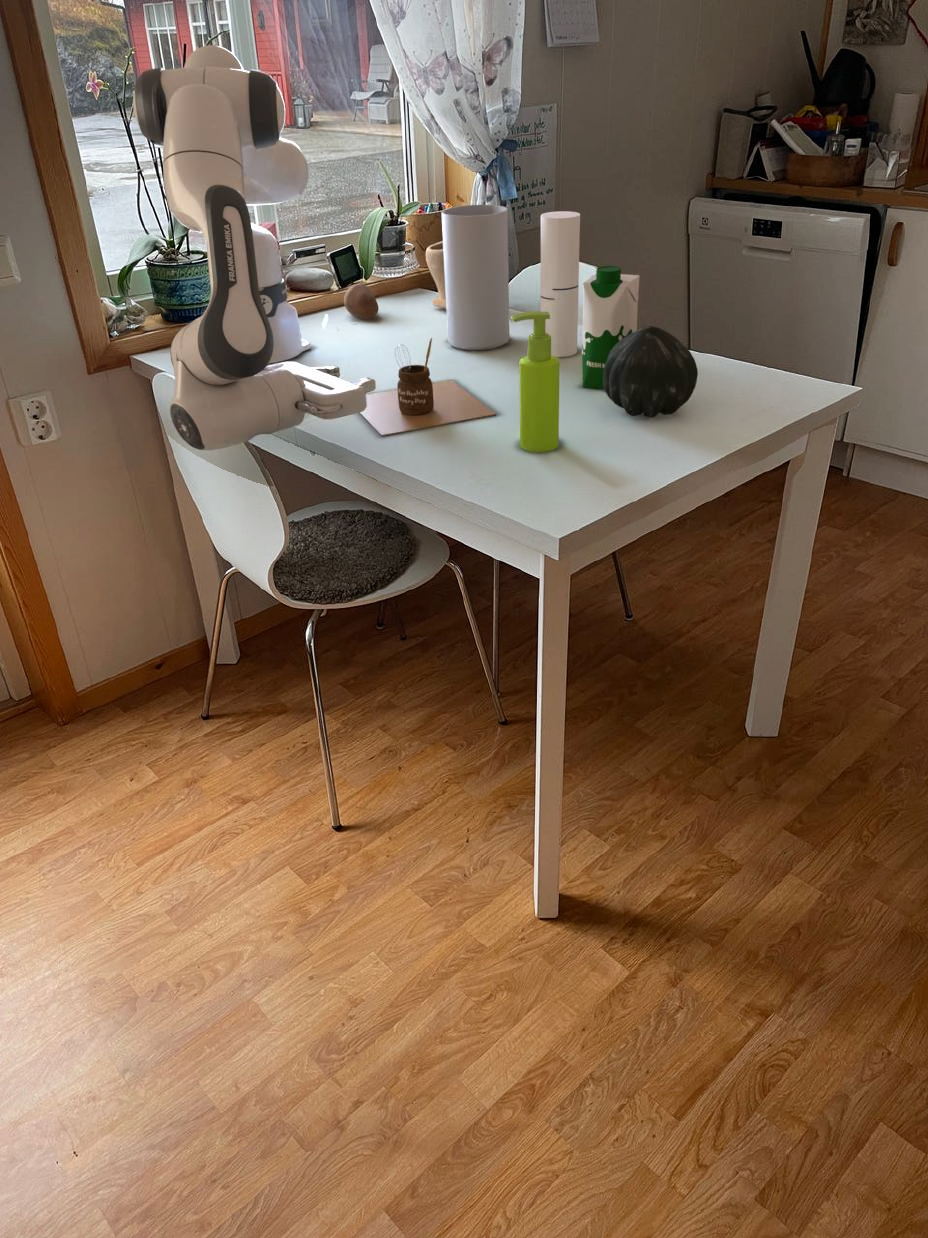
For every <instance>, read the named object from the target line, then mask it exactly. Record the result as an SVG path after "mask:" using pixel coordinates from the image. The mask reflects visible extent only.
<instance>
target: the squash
mask: <svg viewBox="0 0 928 1238" xmlns="http://www.w3.org/2000/svg"><path fill="white" fill-rule="evenodd" d="M698 376H699V371H698V366H697V362H696V359H695V358H694V356H693V354H692V353H691V351H690V350H689V348H688V347H687V346H686V345H685V344H684V343H683V342H682V341H680V339H678V338H677V337H676V336H675V335H674V334H673V335H672V334H671V333H670V332H668V331H667V330H664V329H663V328H660V327H657V326H654V325H646V326H643V327H641V328H639V329H637V330H636V331H635V332H633V333H631V334H629V335H628V336H626V337H625V338H623V339H622V340H620V341H619V342H618V343H617V344H616V345H615V346H614V347H613V349H612V350H611V351H610V353H609V355H608V358H607V361H606V364H605V367H604V373H603V384H604V389H603V390H604V391H605V394H606V395H607V397H608V399H610V400H611V401H612V402H613V403H614V404H615V406H617V407H619V408H621V409H623V410H624V411H625V412H626V414H627V415H629V416H630V417H639V416H641V415H643V416H645V417H646V418H648V419H650V418H655V417H656V416H658V415H659V414H660V415H665V416H667V415H673V414H675V413H676V412H678V411H679V409H681V407H682V406H684V405H685V404H686V403H688V401H689V400H690V398H691V397H692V396H693V394H694V391H695V389H696V387H697V381H698Z"/></svg>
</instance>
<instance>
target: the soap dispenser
mask: <svg viewBox="0 0 928 1238" xmlns="http://www.w3.org/2000/svg"><path fill="white" fill-rule="evenodd" d="M510 318H511V319H512V321H513V322H515V323H518V322H521V321H527V320H533V332H532V333H531V334H529V335H527V356H523V357H522V358H520V359H519V363H518V365H519V371H518V372H519V374H518V375H519V439H520V440H519V445H520V448H521V449H522V450H525V451H527V452H532V453H533V452H534V453H544V452H550V451H553V450H556V449H557V448H558V447H559V446H560V445H559V444H560V443H559V442H560V441H559V439H560V438H559V437H560V436H559V435H560V434H559V433H560V432H559V431H560V364H561V361H560V359H559V357H554V356H551V336H550V335H548V334H547V333H545V319H550V314H549V313H548V312H542V311H539V310H538V311H537V310H535V311H534V310H533V311H523V312H520V313H516V314H514V315H511V316H510Z"/></svg>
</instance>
